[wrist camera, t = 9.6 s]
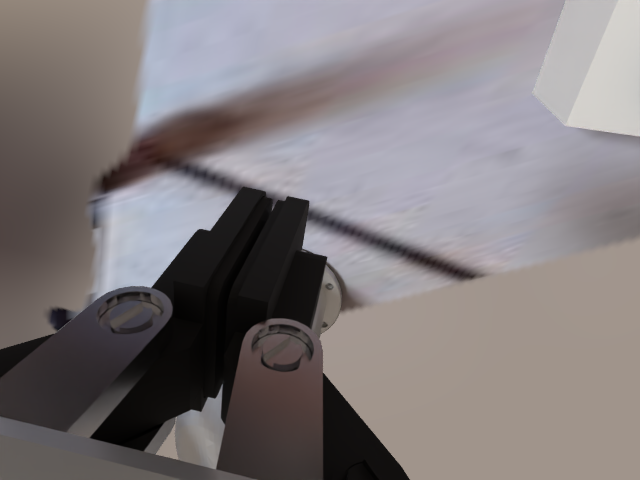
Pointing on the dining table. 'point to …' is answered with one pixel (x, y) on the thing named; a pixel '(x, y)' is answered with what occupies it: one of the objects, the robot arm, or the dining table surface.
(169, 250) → the dining table surface
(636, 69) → the control box
